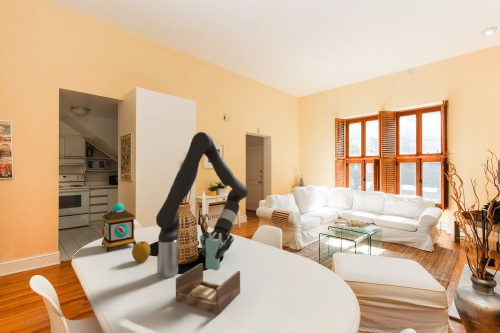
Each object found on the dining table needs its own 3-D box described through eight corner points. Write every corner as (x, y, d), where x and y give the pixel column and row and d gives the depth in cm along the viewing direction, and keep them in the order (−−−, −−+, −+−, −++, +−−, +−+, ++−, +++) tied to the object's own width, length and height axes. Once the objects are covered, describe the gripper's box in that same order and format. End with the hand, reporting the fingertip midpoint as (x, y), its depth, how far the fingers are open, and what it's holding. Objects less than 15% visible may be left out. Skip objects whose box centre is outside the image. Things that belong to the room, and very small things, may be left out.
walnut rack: (175, 305, 92) (175, 278, 92) (201, 286, 106) (201, 263, 106) (218, 319, 83) (218, 289, 83) (240, 296, 97) (240, 271, 97)
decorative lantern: (130, 240, 176) (129, 200, 176) (138, 246, 161) (138, 202, 161) (99, 246, 162) (98, 203, 162) (105, 253, 148) (104, 206, 148)
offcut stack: (190, 302, 91) (190, 290, 91) (199, 295, 96) (199, 284, 96) (209, 308, 87) (208, 296, 87) (217, 300, 92) (217, 289, 92)
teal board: (205, 268, 98) (205, 239, 98) (208, 266, 100) (208, 237, 100) (216, 270, 95) (216, 241, 95) (219, 268, 97) (219, 239, 97)
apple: (137, 266, 128) (136, 245, 128) (128, 262, 134) (128, 241, 134) (153, 260, 136) (153, 240, 136) (145, 257, 142) (144, 237, 142)
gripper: (209, 215, 107) (191, 250, 96) (236, 218, 101) (221, 256, 90) (215, 224, 112) (200, 258, 101) (242, 228, 106) (228, 264, 95)
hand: (210, 257), depth 96 cm, fingers closed on teal board, 5 cm apart
